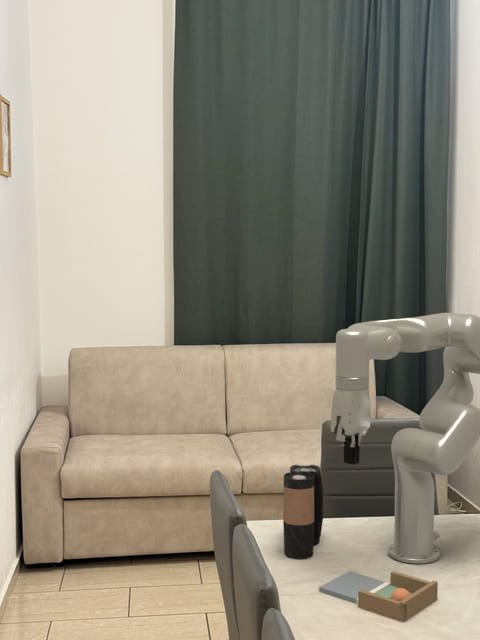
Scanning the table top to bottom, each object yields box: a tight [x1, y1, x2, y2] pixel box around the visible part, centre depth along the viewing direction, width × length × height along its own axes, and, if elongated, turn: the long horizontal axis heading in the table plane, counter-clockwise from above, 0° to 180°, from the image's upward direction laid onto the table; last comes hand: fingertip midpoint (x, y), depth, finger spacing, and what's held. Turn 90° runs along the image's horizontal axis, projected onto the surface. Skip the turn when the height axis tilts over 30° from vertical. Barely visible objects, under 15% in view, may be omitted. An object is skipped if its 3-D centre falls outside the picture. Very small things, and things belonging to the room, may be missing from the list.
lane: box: [318, 570, 439, 623], centre depth 186 cm, size 14×22×4 cm, turn 49°
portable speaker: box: [289, 464, 324, 547], centre depth 219 cm, size 9×9×20 cm
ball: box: [391, 588, 411, 601], centre depth 179 cm, size 4×4×4 cm
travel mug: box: [282, 472, 314, 560], centre depth 211 cm, size 8×8×20 cm
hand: (351, 462), depth 194 cm, fingers closed
